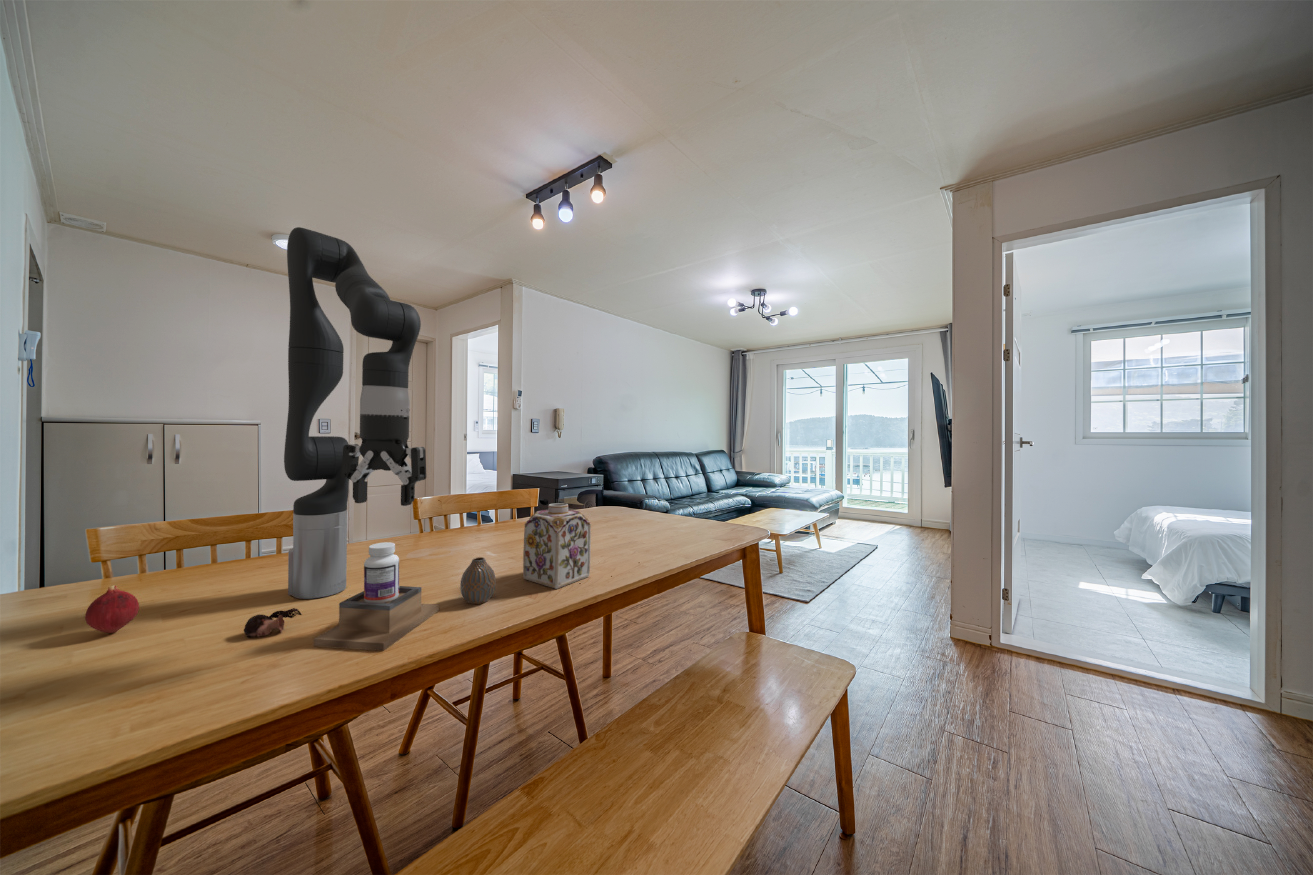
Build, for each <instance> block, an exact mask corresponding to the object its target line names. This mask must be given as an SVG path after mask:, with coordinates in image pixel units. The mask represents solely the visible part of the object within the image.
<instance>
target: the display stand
mask: <svg viewBox="0 0 1313 875" xmlns="http://www.w3.org/2000/svg"><path fill="white" fill-rule="evenodd" d="M338 605H339V606H338V618H339V619H338V625H336V626H334V627H332V628H331V629H328V630H326V631H325V632H323V633H322V634H320V635H318V636H316V637H315V638H313V647H324V648H335V649H336V648H339V649H349V650H351V649H352V650H366V651H367V650H369V651H380V652H382V651H386V650H387V649H389V647H391V646H392V645H393V644H395V643H396V642H398V641H399V640H400V639H403V637H405V636H406V635H408V634H409V633H410V632H411V631H413V630H414V629H416V628H417V627H419V626H420V625H421V624H423V623H424V622H425V621H427V620H429V619H430V618H431V617H433V616H434V615H435V614H437V613H438V612H439V611H440V604H434V603H422V586H408V585H407V586H406V585H399V596H398V597H397V598H396V599H394V600H392V601H390V602H386V603H374V602H365V601H364V590H363V591H360V592H359V593H356V594H355V595H353V596H351V597H348V598H346V599H345V600H342V601H341V602H339V603H338Z"/></svg>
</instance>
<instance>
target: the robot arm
mask: <svg viewBox="0 0 1313 875" xmlns="http://www.w3.org/2000/svg"><path fill="white" fill-rule="evenodd" d="M288 235H289V236H288V239H287V246H286V261H287V264H286V265H287V275H288V289H289V331H288V334H289V335H288V345H287V346H288V348H287V351H288V352H287V357H288V359H287V360H288V361H287V366H288V370H287V371H288V373H287V374H288V408H287V409H288V412H287V421H286V429H285V430H286V431H285V440H284V441H285V442H284V451H283V452H284V453H283V466H284V467H283V468H284V471H285V475H286V477H287V478H288V479H289V480H290V481H294V482H305V481H306V482H308V481H319V480H325V482H324V484H323V485H322V486H321V487H320V488H318V489H317V490H315V491H313V492H311V493H308V494H306V495H303V496H301V497H298V498H297V499H295V500H294V502H293V508H292V509H293V510H292V512H293V514H292V517H293V519H292V521H293V522H292V523H293V525H292V529H293V530H292V532H293V533H292V534H293V536H292V538H293V539H292V541H293V542H292V547H291V548H290V549H289V550H288V552H287V553H288V554H287V555H288V556H287V558H288V563H287V570H288V572H287V574H288V575H287V578H288V580H287V595H288V596H293V598H295V599H304V600H306V599H307V600H309V599H318V598H323V597H329V596H332V595H336V594H338V593H341V592H342V591H344V590H345V589H346V588H347V569H348V567H347V564H348V562H347V558H348V556H347V555H348V554H347V553H348V550H347V549H348V548H347V547H348V501H349V500H348V499H349V492H350V491H349V490H350V487H349V486H350V481H351V482H352V498H353V500H354V503H355V504H363V503H367V501H368V481H366V480H368V478H369V477H370V475H371V474H372V473H373V472H375V471H378V470H379V471H382V470H383V471H385V472H387V471H388V472H390V471H391V472H392V473H393V474H394V475H395V476H397V477H398V478H399V480H400V482H401V483H402V484H401V486H400V505H401V506H403V507H407V506H410V505H412V503H413V502H414V501H415V499H416V498H415V494H416V493H415V492H416V488H415V487H416V484H417V483H418V482H421V481H425V480H426V479H427V460H426V459H427V458H426V456H427V455H426V448H425V447H424V446H415V447H409V445H408V440H409V438H410V410H411V409H410V404H411V403H410V395H409V394H410V393H409V372H410V371H409V367H410V363H411V360H412V357H413V352H414V350H415V346H416V344H417V343H416V342H417V340H418V337H419V335H420V332H421V326H422V324H421V317H420V314H419V313H418V311H417V309H416V308H415V307H414V306H412V305H411V304H408V303H405V302H400V301H397V300H392V299H391V298H390V296H389V294H388V293H387V292H386V290H385V289H384V288H383V287H382V286H381V285H379V283H378V282H376V280H374V279H373V278H372V276H370V274H369V273H368V272H367V269H366V267H365V265H364V263H363V262H362V260H361V259H360V256H359V255H358V253H357V252H356V250H355V248H353V246H352V245H351V244H349V243H348V242H346V241H345V240H343V239H340V238H338V237H335V236H331V235H328V234H326V233H322V232H318V231H316V230H312V229H308V228H304V227H300V226H299V227H295V228H293V229H292V230H291V231H290V233H289V234H288ZM313 279H316V280H320V281H324V282H329V283H334V284H335V285H334V288H335V292H336V295H337V296H338V299H339V300H340V302H342V304H343V305H344V306H345V307H346V308H347V309H348V310H349V313H350V314H349V315H350V323H351V326H352V328H353V329H354V330H355V331H356V333H359V334H360V335H362V336H365V337H367V338H373V339H378V340H385V341H391V342H392V343H391V346H390V348H389V349H388V350H387V351H378V352H377V351H376V352H374V351H373V352H368V353H366V354H365V355H364V356H363V358H362V368H361V369H362V371H361V372H362V373H361V374H362V376H361V383H362V384H361V385H362V386H361V392H360V400H359V438H360V439H361V444H360V445H359V444H357V443H355V444H353V443H352V444H351V443H350V444H349V441H348V440H347V439H346V437H342V436H334V435H333V436H332V435H331V436H327V435H324V436H323V435H321V436H319V435H318V436H315V435H314V436H313V435H311V436H310V429H311V425H312V422H313V419H314V417H315V415H316V413H317V412H318V410H319V408H320V407H321V405H323V403H324V401H326V399H327V398H329V396H330V395H331V393H333V391H334V390H335V389H336V387H337V386H338V385H339V383H340V382H341V380H342V378H343V374H344V353H345V352H344V350H345V349H344V343H343V341H342V339H341V337H340V335H339V333H338V332H337V330H336V328H335V327H334V325H333V324H332V323H331V321H330V319H329V318H328V316H327V315H326V313H325V312H324V311H323V310H324V309H322V307H321V304H320V303H319V300H318V297H317V295H316V291H315V287H314V282H313V281H314V280H313ZM360 456H362V460H361V461H360ZM406 458H408V459H410V462H411V463H410V464H411V465H410V464H409V462H408V461H407V459H406ZM359 461H360V463H359Z"/></svg>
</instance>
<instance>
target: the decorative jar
mask: <svg viewBox="0 0 1313 875" xmlns="http://www.w3.org/2000/svg"><path fill="white" fill-rule="evenodd" d="M547 508H548V509H542V510H538V511H535V512H534V514H532V515H531V516H530V517H529V518H528V520H527V521H526V522H525V523H524V531H523V552H522V554H523V557H522V558H523V560H522V573H523V574H522V578H523V579H524V580H526V581H529V582H533V583H537V584H539V585H542V586H546V587H548V588H551V589H555V590H558V589H560V588H563V587H566V586H568V585H570V584H573V583H577V582H579V581H582V580H584V579H586V578H588V577H589V576H590V574H591V540H592V539H591V538H592V537H591V536H592V535H591V534H592V531H591V528H592V527H591V525H592V523H591V522H590V521H589V519H588V518H587V516H586V515H584V513H583V512H582V511H580V510H575V509H569V504H568V503H564V502H559V503H558V502H556V503H550V504H548V506H547Z"/></svg>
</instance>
